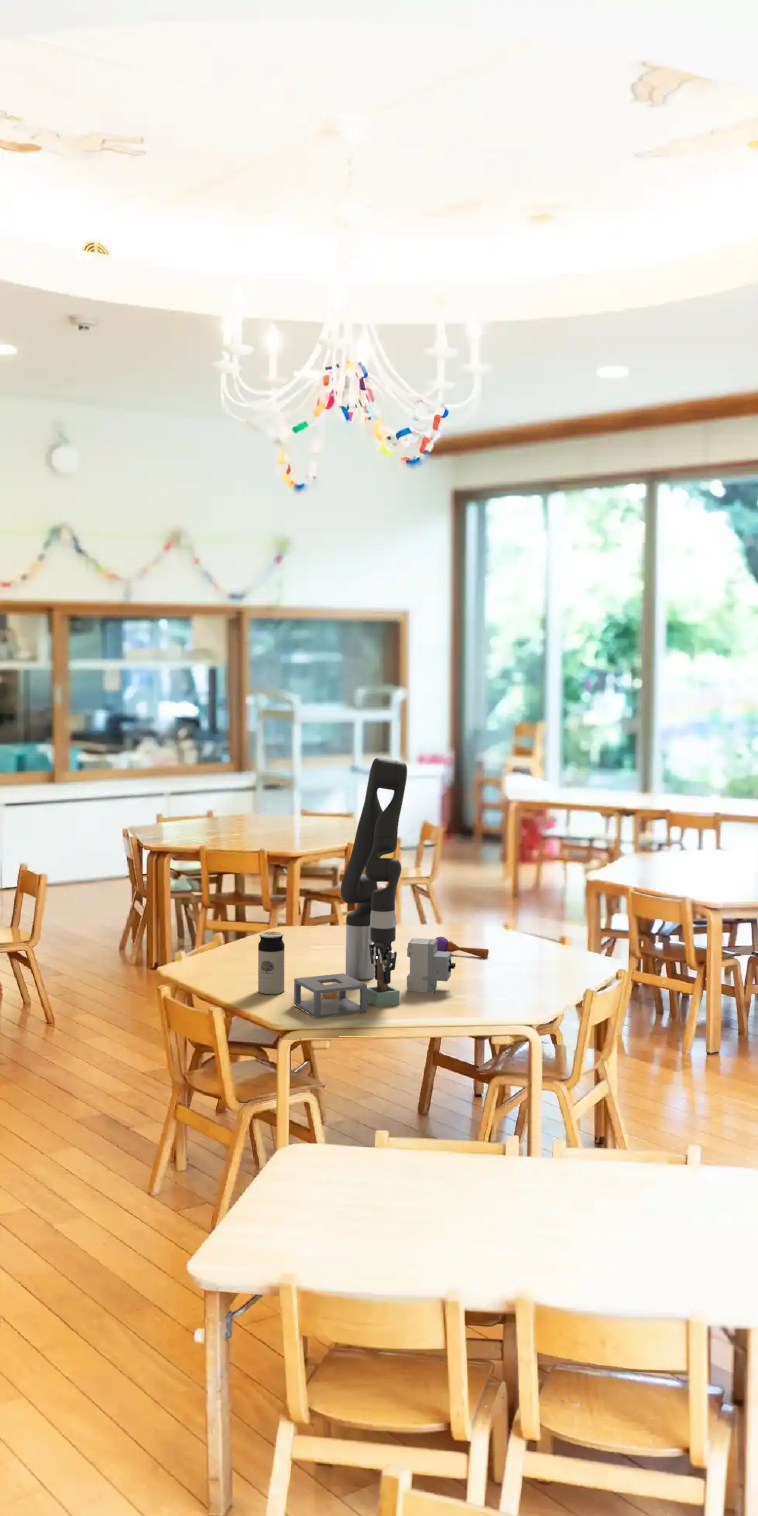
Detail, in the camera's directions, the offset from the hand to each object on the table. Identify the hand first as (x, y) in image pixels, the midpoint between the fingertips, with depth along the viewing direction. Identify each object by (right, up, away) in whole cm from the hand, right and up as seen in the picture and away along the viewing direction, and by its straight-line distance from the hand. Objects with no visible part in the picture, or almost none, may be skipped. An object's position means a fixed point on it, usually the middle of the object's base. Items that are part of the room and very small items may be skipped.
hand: (382, 981), depth 404 cm
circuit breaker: (+15, -5, +17) cm, 23 cm away
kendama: (+27, -2, +66) cm, 71 cm away
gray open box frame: (-15, -7, -7) cm, 18 cm away
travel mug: (-34, -5, +13) cm, 37 cm away
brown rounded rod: (0, -6, +1) cm, 6 cm away
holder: (0, -6, +1) cm, 6 cm away
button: (-15, -3, -7) cm, 17 cm away
